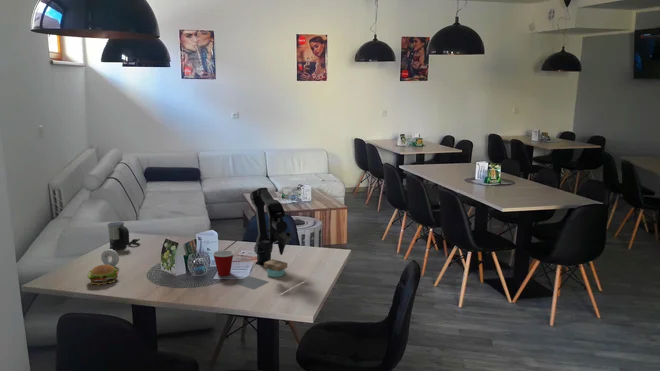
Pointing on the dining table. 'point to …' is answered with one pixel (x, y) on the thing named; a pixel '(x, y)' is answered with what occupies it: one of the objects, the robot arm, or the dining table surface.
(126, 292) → the dining table surface
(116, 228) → the milk frother
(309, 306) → the dining table surface
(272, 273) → the bowl
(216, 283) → the dining table surface
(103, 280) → the food
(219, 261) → the plastic cup
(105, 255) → the donut
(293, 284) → the dining table surface
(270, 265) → the board
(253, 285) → the mat
